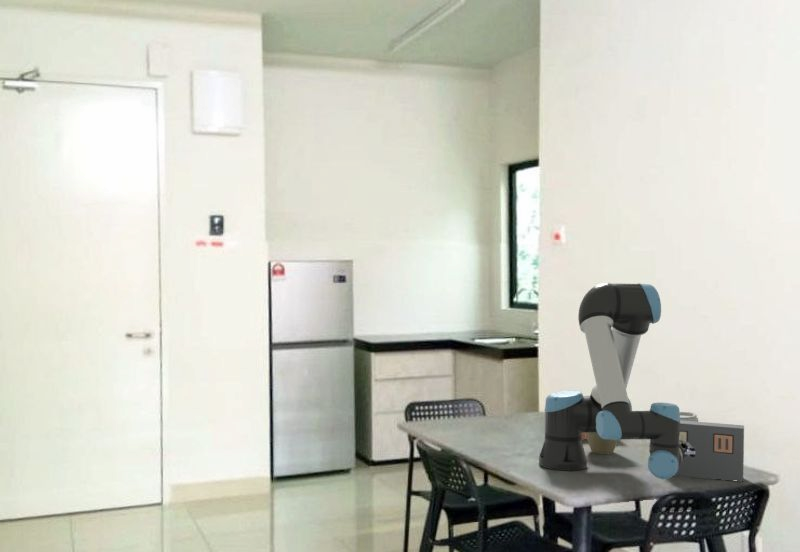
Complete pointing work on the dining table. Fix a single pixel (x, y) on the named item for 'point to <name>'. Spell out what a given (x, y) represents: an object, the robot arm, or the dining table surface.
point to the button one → (683, 435)
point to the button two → (723, 443)
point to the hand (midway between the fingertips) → (678, 440)
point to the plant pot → (600, 443)
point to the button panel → (712, 451)
